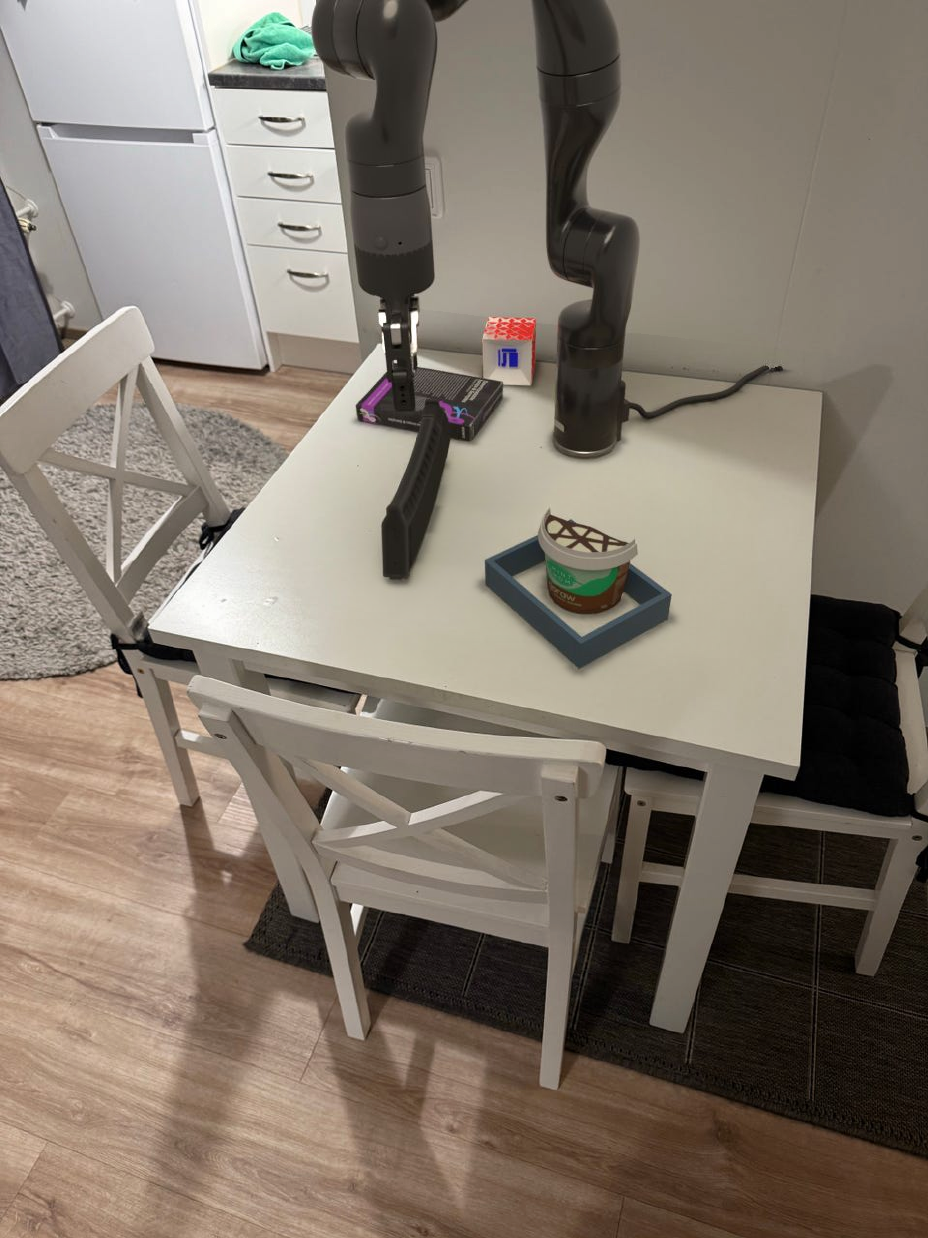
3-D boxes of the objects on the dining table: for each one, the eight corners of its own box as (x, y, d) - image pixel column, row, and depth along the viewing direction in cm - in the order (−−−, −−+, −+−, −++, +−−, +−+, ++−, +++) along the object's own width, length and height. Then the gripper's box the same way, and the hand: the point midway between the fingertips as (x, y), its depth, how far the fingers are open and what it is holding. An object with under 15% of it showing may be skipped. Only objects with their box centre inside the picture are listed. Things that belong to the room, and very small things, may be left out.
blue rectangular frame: (569, 543, 118) (571, 518, 116) (667, 619, 107) (672, 593, 105) (485, 584, 113) (484, 559, 110) (579, 669, 102) (580, 643, 99)
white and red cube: (535, 362, 155) (536, 318, 149) (531, 385, 149) (532, 340, 144) (488, 361, 156) (487, 316, 150) (483, 383, 150) (481, 338, 145)
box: (357, 423, 143) (471, 444, 137) (354, 403, 141) (470, 423, 134) (396, 381, 152) (505, 398, 146) (393, 361, 150) (504, 378, 143)
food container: (517, 597, 111) (517, 532, 104) (543, 570, 115) (545, 505, 108) (607, 635, 106) (613, 569, 99) (631, 605, 109) (639, 539, 102)
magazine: (398, 542, 105) (440, 356, 120) (371, 540, 106) (416, 355, 120) (417, 617, 120) (452, 443, 135) (393, 615, 120) (431, 441, 135)
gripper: (431, 263, 81) (441, 423, 92) (433, 206, 91) (441, 356, 102) (347, 267, 81) (367, 426, 92) (358, 209, 91) (375, 358, 102)
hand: (406, 389), depth 97 cm, fingers open, 8 cm apart
